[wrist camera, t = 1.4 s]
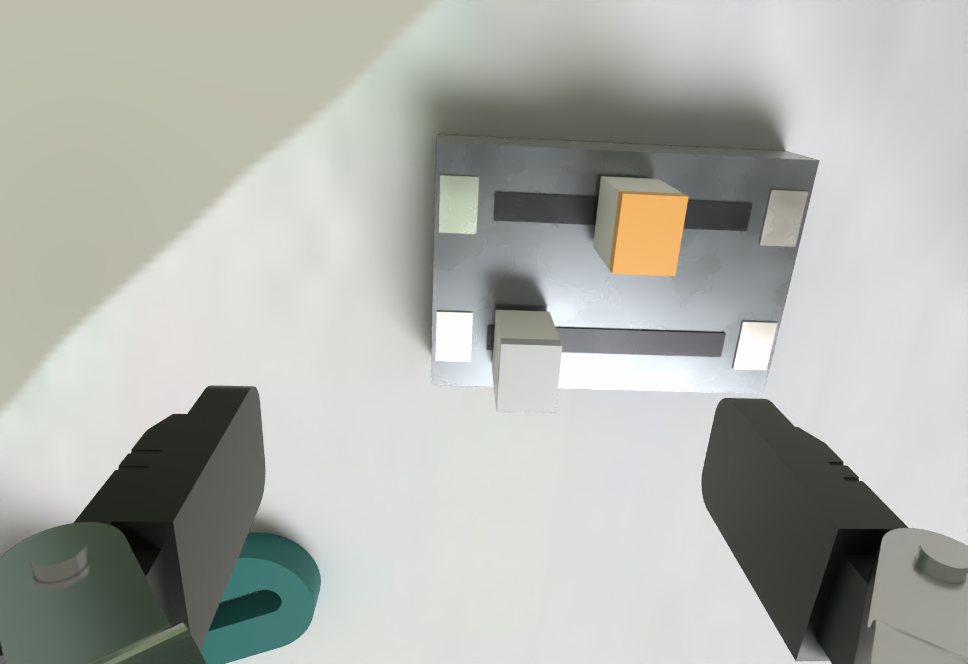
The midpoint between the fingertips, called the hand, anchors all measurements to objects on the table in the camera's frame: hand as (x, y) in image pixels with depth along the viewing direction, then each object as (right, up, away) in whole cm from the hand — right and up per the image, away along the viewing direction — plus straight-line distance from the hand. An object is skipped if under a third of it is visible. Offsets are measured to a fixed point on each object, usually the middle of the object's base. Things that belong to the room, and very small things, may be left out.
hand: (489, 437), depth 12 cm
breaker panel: (+6, +5, +20) cm, 22 cm away
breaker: (+2, +1, +18) cm, 18 cm away
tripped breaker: (+6, +7, +16) cm, 19 cm away
